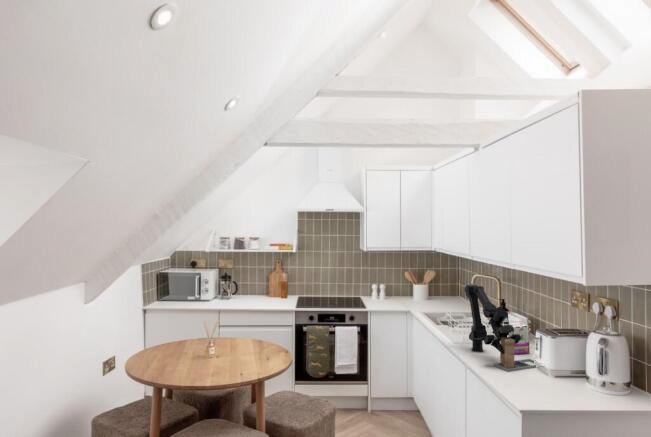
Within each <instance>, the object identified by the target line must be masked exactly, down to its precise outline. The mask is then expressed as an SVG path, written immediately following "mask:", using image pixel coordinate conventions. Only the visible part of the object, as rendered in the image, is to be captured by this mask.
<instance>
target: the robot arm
mask: <svg viewBox="0 0 651 437" xmlns="http://www.w3.org/2000/svg"><path fill="white" fill-rule="evenodd" d="M484 289H485V288H484V286H482V285H478V284H467V285H465V287H464V292H465V296H466V297H467V299H468V300H469V305H470V311H471V316H472V317H471V318H472V325H471V327H470V328H471V331H470V332H469V334H468V339H469V340H470V341H471V342H472V345H471V346H472V347H471V351H472V352H479V353H483V352H484V351H485V350H484V348H483V347H484V346H483V345H484V344H485V345H486V346H487V345H490V346H492V347H494V348H495V349H496V350H498V352H499V353H500V352H501V353H502V354H504V351H503V349H502V347H501V338H511V339H513V340H515V344H517V343H518V342H519V341H520V340H521V336H520V335H519V334H512V335H511V337H508V335H509V333H511V331H514V328H513V326H512V325H513V324H509V325H505V326H504V325H503V323H504V321H505V320H506V319H507V317H508V315H509V314H508V311H507V310H506V309H504V308H502V306H496V305H495V304H494V303H492V302H491V300H490V299H489V297H488V295H487V293H486V291H485V290H484ZM479 303H480V304H481V305H482V306H481V307H482V308H483V309H482V313H483V316H484V317H485V318H487V319H488V322H487V324H488V325H490V327H491V329H492V332H491V333H492V334H488V333H487V332H488V331H487V328H486V327H487V326H486V325H484V324H483V323H482V318H481V317H482V316H481V312H480V311H481V310H480V304H479ZM483 343H484V344H483Z"/></svg>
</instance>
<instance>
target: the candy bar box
mask: <svg viewBox="0 0 651 437" xmlns="http://www.w3.org/2000/svg"><path fill="white" fill-rule="evenodd" d="M511 325H512V326H513V328H514V331H511V333H509V335H507V337H511V335H512V334H519V335H520V336H521V340H520V341H519V342H518V343H517V344H515V356H521V355H528V354H529V355H530V352H531V351H530V326H529V325H528V324H522V323H521V324H511Z"/></svg>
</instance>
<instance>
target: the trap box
mask: <svg viewBox="0 0 651 437" xmlns="http://www.w3.org/2000/svg"><path fill="white" fill-rule="evenodd" d="M534 361H535V360H534V359H531V358H526V359H524V358H523V359H518V360H514V368H510V369H507V368H505V367H502V366H500V362H496V363H493V367H495V368H498V369H500V370H501V371H505V372H507V373H510V372H517V371H523V370H529V369H536V365H534Z"/></svg>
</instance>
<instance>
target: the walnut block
mask: <svg viewBox="0 0 651 437" xmlns="http://www.w3.org/2000/svg"><path fill="white" fill-rule="evenodd" d="M500 344H501V347H502V349H503V351H504V354H502V353H501V352H500V351H499V353H500V356H499V358H500V360H499V361H500V362H499V363H500V366H502V367H505V368H507V369H510V368H514V361H515V357H516V355H515V340H513V339H511V338H501V341H500Z"/></svg>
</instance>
